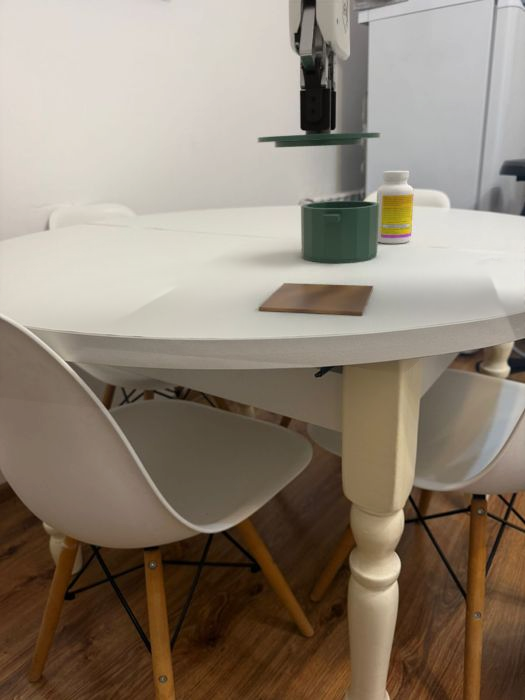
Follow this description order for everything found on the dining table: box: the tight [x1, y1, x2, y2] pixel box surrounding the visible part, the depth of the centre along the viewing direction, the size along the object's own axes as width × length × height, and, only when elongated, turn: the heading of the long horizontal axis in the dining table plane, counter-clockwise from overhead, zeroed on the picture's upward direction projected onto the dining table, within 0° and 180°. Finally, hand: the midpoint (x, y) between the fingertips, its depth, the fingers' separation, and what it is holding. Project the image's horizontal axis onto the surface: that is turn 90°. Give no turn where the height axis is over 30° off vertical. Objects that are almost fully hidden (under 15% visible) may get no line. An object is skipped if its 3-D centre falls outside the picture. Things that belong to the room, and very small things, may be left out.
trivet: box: [258, 282, 374, 316], centre depth 66 cm, size 12×12×1 cm
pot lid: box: [257, 80, 381, 149], centre depth 59 cm, size 14×14×7 cm
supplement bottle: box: [376, 170, 414, 245], centre depth 101 cm, size 7×7×13 cm
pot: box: [300, 200, 379, 264], centre depth 91 cm, size 13×18×8 cm
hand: (318, 128), depth 60 cm, fingers closed on pot lid, 2 cm apart
